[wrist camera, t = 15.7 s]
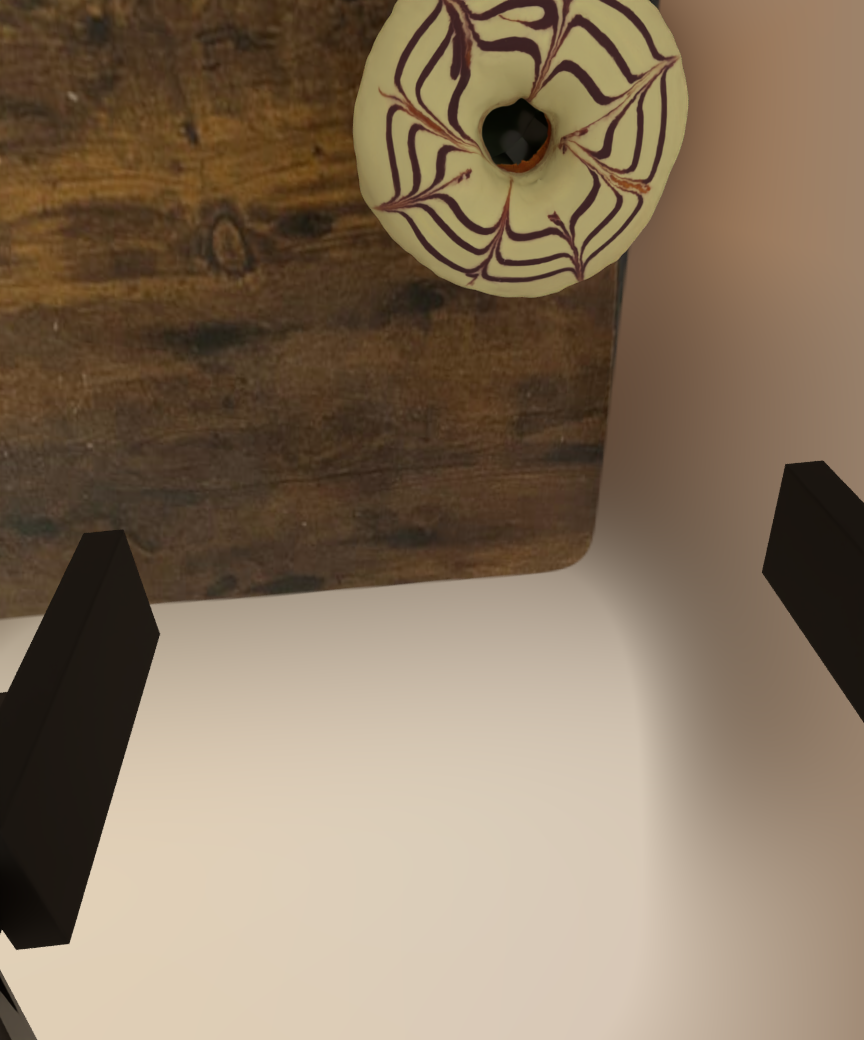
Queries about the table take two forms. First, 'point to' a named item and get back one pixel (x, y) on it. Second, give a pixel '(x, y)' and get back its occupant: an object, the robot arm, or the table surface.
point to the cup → (514, 132)
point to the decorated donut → (551, 171)
